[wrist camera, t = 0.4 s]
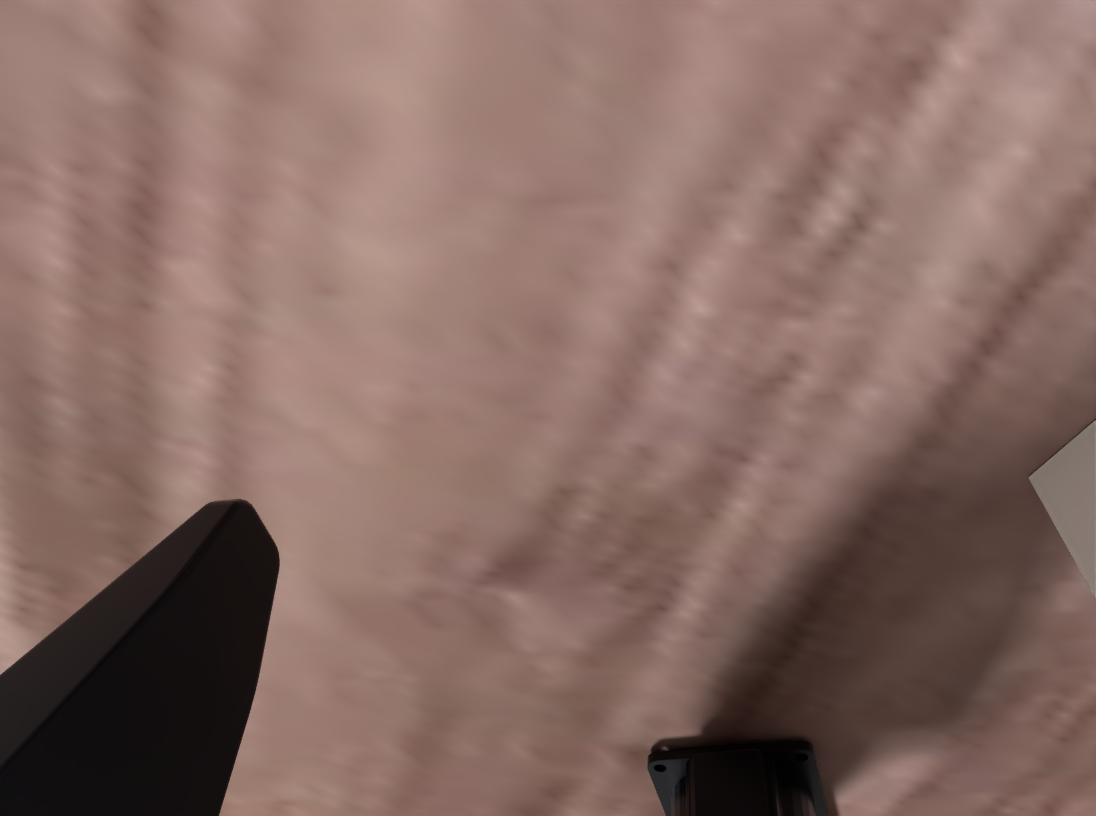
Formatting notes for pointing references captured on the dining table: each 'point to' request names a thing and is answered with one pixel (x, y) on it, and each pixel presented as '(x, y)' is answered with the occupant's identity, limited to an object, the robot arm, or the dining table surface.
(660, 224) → the dining table surface
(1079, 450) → the outer sleeve
